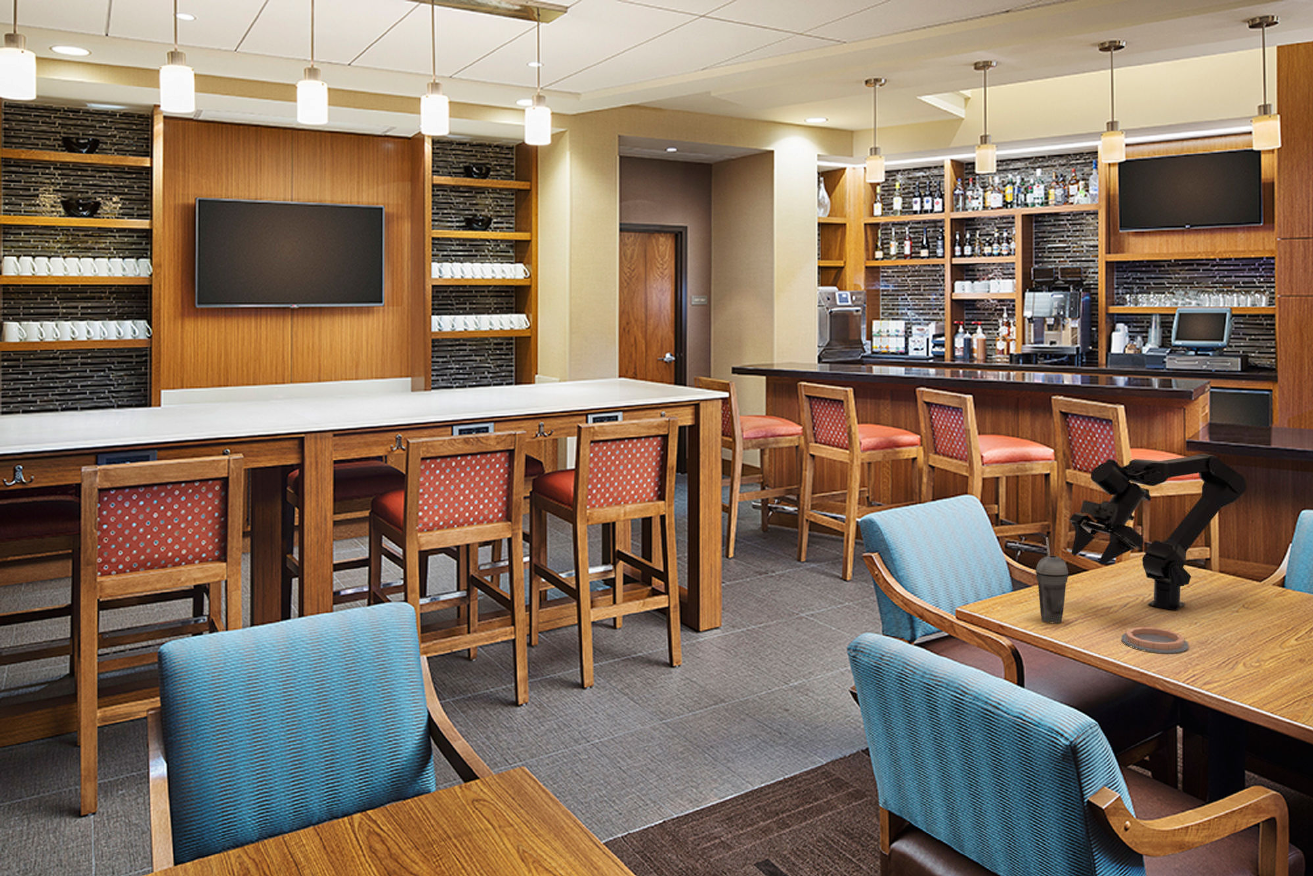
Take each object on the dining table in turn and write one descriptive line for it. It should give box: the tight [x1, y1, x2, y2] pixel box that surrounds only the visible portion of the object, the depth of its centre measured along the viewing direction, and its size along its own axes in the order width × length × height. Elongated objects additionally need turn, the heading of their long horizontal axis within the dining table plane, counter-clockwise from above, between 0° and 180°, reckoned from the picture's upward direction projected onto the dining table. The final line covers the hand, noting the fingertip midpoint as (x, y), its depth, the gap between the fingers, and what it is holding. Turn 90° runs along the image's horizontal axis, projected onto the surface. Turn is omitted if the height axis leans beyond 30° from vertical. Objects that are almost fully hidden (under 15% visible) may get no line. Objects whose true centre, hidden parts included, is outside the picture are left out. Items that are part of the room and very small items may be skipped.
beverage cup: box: [1035, 536, 1070, 624], centre depth 223 cm, size 7×7×20 cm
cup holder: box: [1120, 626, 1189, 655], centre depth 207 cm, size 13×13×2 cm
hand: (1086, 559), depth 225 cm, fingers open, 9 cm apart
